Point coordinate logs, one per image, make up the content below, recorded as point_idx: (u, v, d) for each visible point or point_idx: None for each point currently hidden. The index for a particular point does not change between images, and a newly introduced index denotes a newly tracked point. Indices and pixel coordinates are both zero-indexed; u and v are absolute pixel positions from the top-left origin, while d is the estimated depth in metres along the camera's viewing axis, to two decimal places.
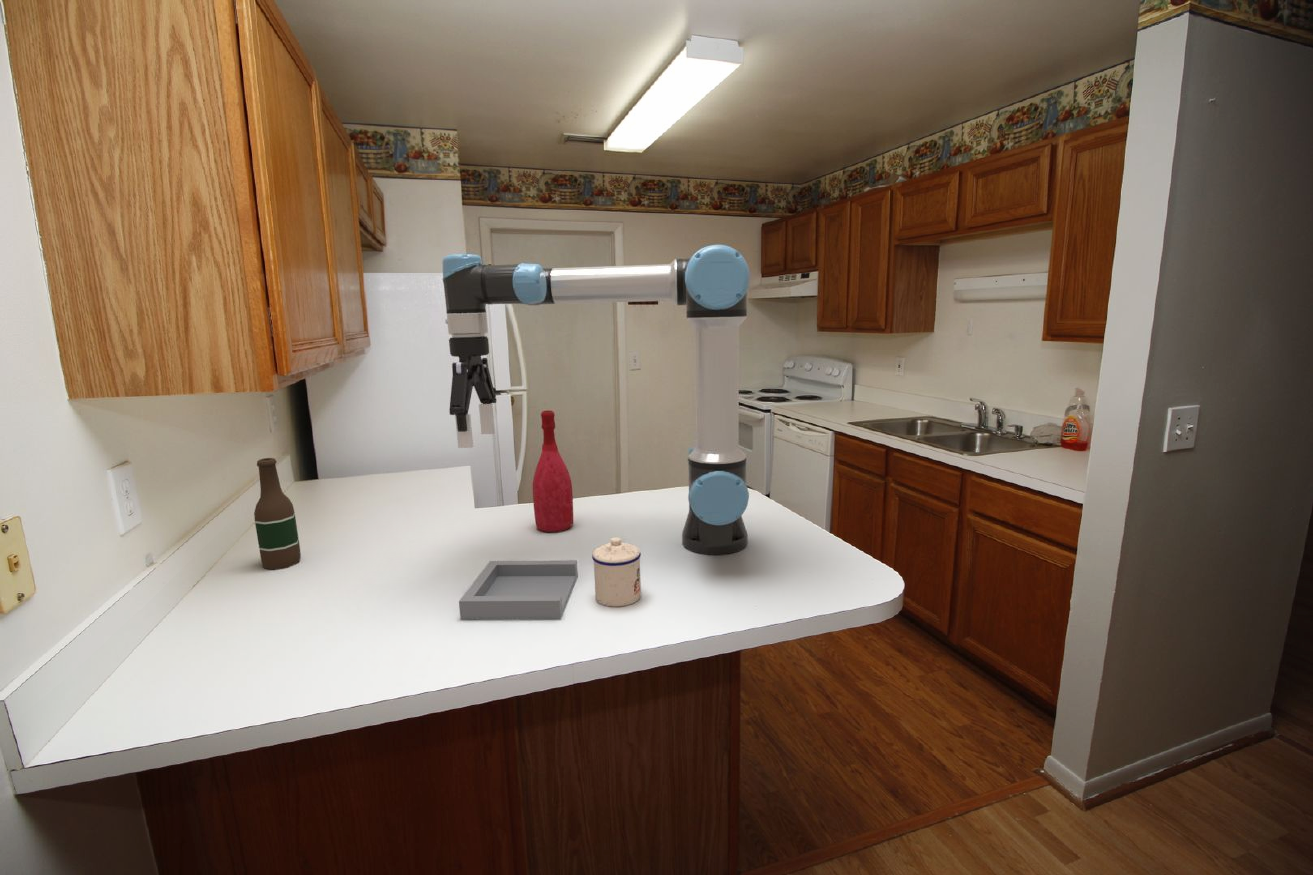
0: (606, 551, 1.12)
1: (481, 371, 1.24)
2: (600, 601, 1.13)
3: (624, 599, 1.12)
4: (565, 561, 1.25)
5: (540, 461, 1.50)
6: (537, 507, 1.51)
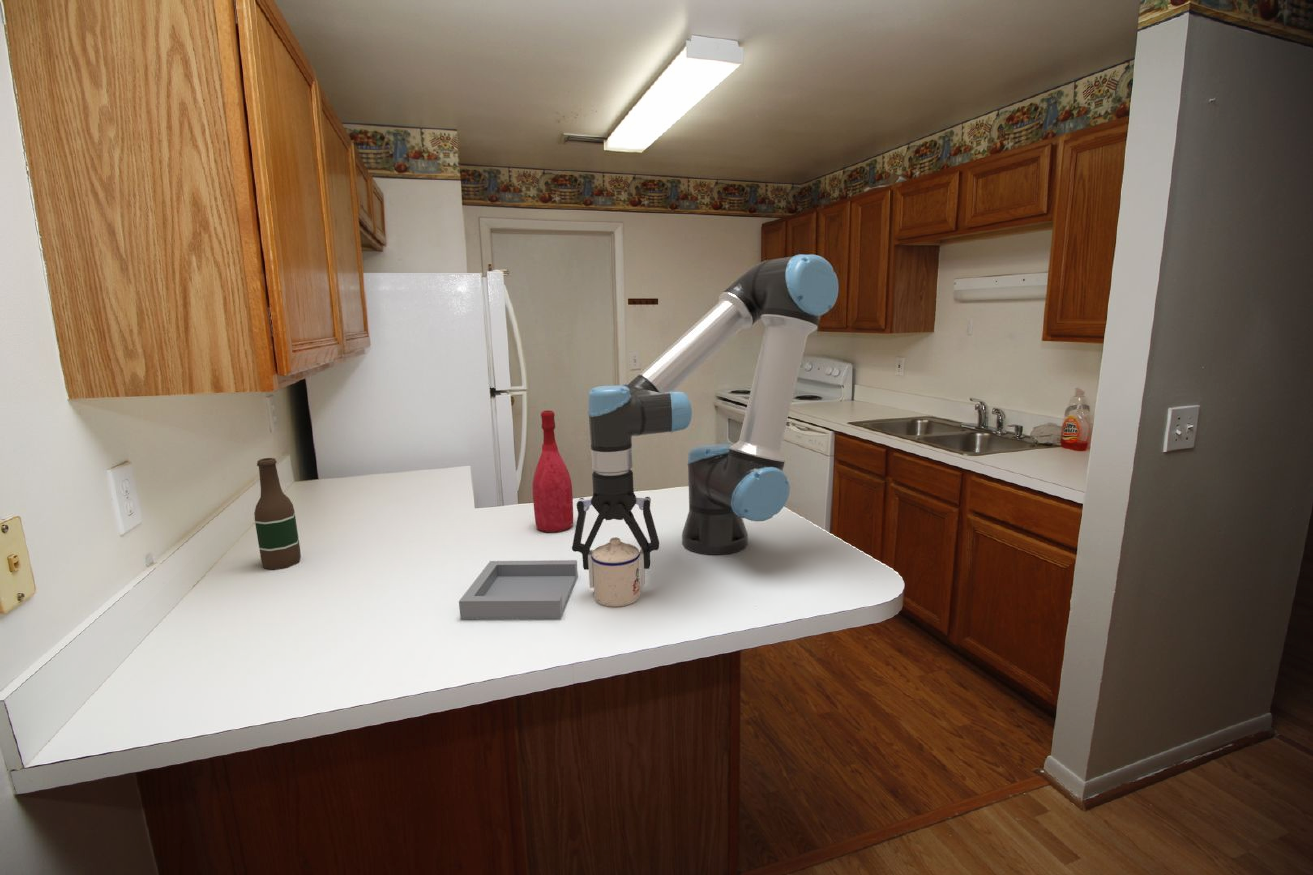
0: (606, 551, 1.12)
1: None
2: (599, 601, 1.13)
3: (623, 599, 1.12)
4: (565, 561, 1.25)
5: (540, 461, 1.50)
6: (537, 508, 1.51)
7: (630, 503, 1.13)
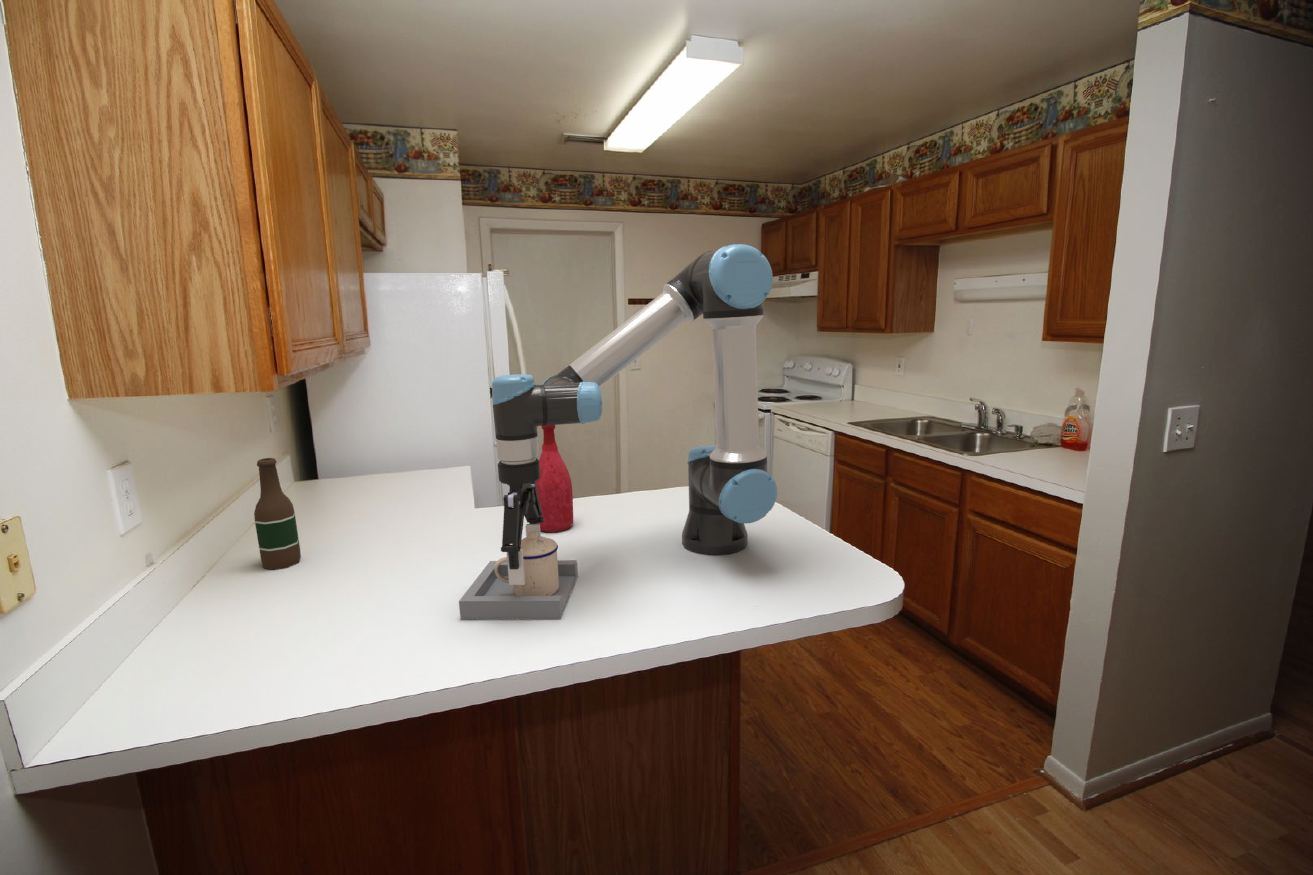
0: (542, 544, 1.14)
1: (531, 495, 1.14)
2: (549, 593, 1.14)
3: None
4: (565, 561, 1.25)
5: (540, 461, 1.50)
6: None
7: (530, 486, 1.16)
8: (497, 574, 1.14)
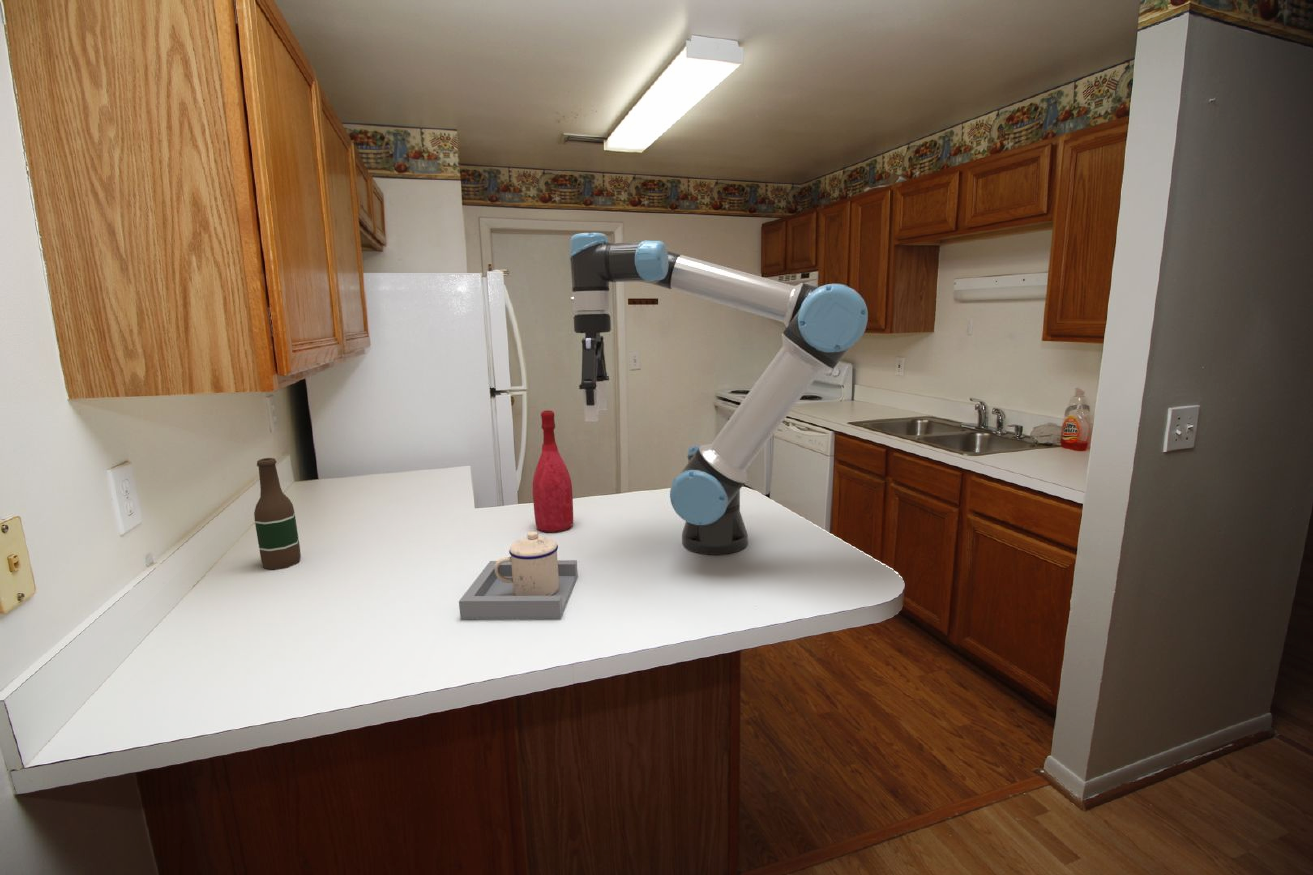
0: (542, 544, 1.14)
1: (602, 348, 1.27)
2: (549, 594, 1.14)
3: None
4: (565, 561, 1.25)
5: (540, 461, 1.50)
6: (537, 507, 1.51)
7: (600, 342, 1.29)
8: (497, 574, 1.14)
